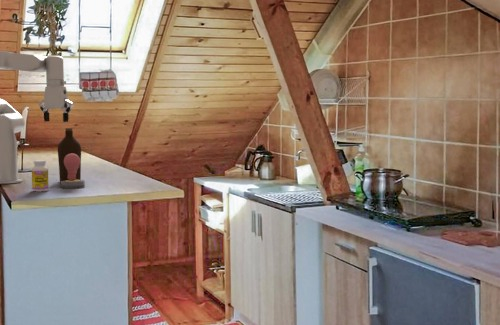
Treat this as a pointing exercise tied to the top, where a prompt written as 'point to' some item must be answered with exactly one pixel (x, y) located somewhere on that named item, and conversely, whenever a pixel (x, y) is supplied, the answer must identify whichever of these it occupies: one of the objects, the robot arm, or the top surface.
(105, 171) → the top surface
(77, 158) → the light bulb
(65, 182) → the socket base
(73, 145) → the olive oil
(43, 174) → the supplement bottle
